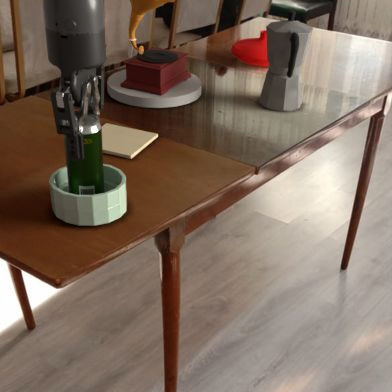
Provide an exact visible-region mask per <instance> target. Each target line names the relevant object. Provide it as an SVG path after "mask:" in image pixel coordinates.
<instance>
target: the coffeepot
mask: <svg viewBox="0 0 392 392" xmlns="http://www.w3.org/2000/svg"><path fill="white" fill-rule="evenodd" d="M296 14H297V11H296V10H293V9H290V10H287V19H280V20H277V21H271V22H269V23H268V24H267V25H266V26H265V30H266V36H267V61H268V62H269V67H267V68H268V69H267V71H266V73H265V77H264V80H263V84H262V89H261V92H260V95H259V100H258V102H259V104H260V105H261V106H262V107H263V108H265V109H268V110H271V111H275V112H276V111H277V112H291V111H296V110H298V109H300V107H301V105H302V104H303V77H302V76H303V74H302V65H303V64H304V62H305V60H306V55H307V52H308V48H309V45H310V42H311V39H312V35H313V31H314V27H312V26H310V25H308V24H306V23H304V22H301V21H297V20H295V17H296Z"/></svg>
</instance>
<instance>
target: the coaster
mask: <svg viewBox="0 0 392 392" xmlns="http://www.w3.org/2000/svg"><path fill="white" fill-rule="evenodd" d="M101 127H102V146H103V154H107V155H112V156H116V157H121V158H124V159H125V158H126V159H128V160H129V159H130V160H132V159H133V158H135V157H136V156H137V155H138V154H139V153H140V152H141V151H143V150H144V149H145V148H147V146H149V145H150V144H152V142H153V141H155V140H156V139H157V138H158V137H159V133H156V132H151V131H146V130H141V129H137V128H131V127H128V126H123V125H118V124H113V123H107V122H106V123H104V124H103V125H101Z"/></svg>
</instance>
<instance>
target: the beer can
mask: <svg viewBox="0 0 392 392" xmlns="http://www.w3.org/2000/svg"><path fill="white" fill-rule="evenodd" d="M75 118H76V124H77V117H75ZM82 134H83V143H84V159H83V160H82V161H81V162H79V161H73V160H70V159H69V158H68V153H67V142H66V135H63V141H64V154H65V163H66V165H65V166H67V176H68V187H69V193H72V194H77V195H94V194H100V193H105V186H104V166H103V164H104V153H103V146H102V124H101V122H100V117H99V118H98V117H97V116H95V115H92V114H87V117H86V118H84V120H83V133H82Z"/></svg>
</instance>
